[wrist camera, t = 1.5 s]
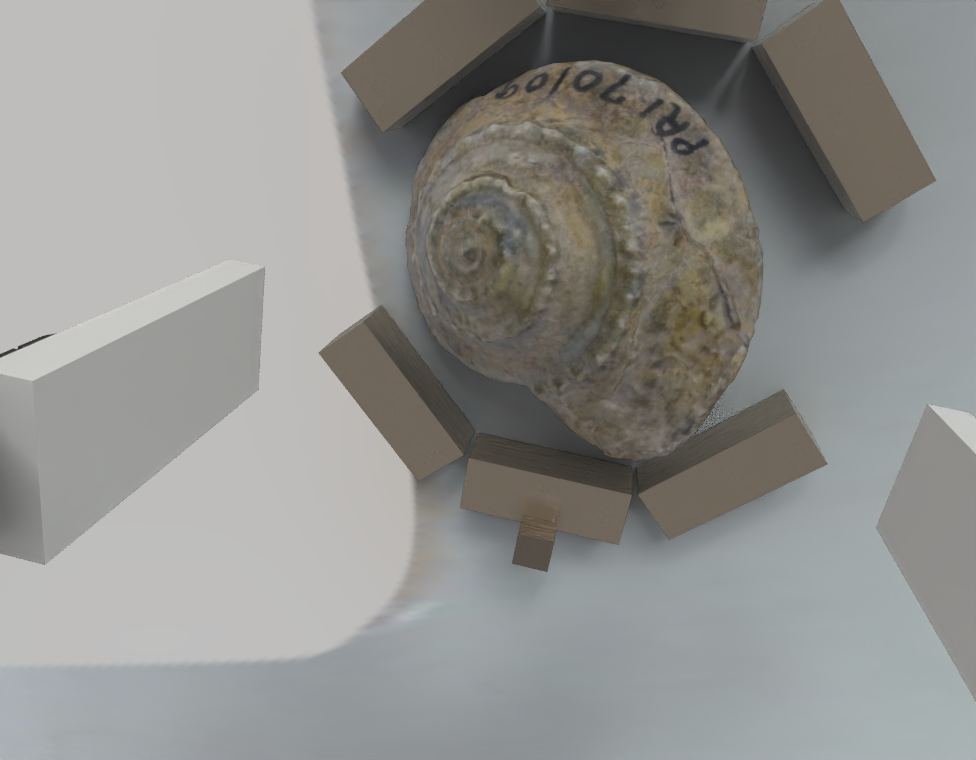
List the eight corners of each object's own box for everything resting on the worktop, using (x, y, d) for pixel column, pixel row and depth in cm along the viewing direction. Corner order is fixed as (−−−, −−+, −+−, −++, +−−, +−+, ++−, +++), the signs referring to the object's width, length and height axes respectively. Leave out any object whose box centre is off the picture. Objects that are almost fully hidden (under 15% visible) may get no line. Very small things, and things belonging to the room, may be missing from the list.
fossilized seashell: (682, -19, 20) (683, 98, 15) (797, 279, 26) (824, 433, 21) (369, 143, 25) (294, 271, 20) (523, 363, 31) (494, 504, 26)
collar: (381, -134, 22) (342, -167, 19) (989, -40, 20) (1050, -61, 17) (327, 467, 29) (293, 511, 27) (764, 569, 28) (780, 627, 25)
